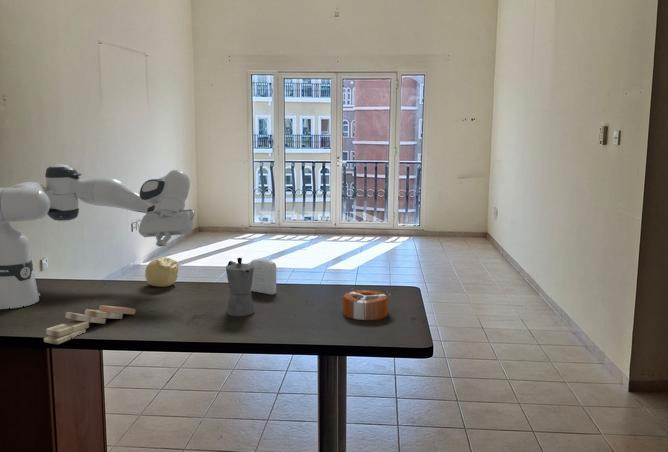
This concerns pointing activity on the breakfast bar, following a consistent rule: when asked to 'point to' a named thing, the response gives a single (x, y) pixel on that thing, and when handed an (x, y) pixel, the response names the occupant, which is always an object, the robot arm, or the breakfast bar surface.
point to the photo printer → (264, 276)
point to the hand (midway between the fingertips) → (160, 245)
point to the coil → (365, 305)
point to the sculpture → (162, 272)
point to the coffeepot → (240, 288)
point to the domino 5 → (116, 309)
